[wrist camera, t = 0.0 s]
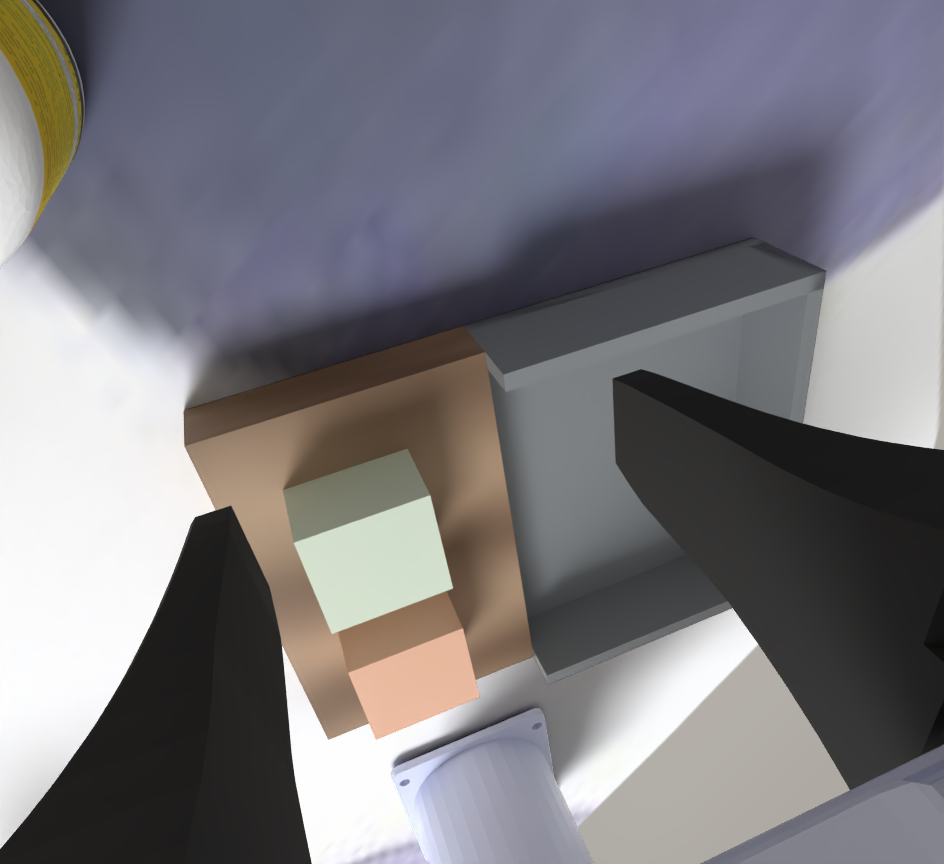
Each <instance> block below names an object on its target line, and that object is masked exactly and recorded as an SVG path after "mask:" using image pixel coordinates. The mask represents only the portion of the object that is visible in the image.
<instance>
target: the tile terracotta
mask: <svg viewBox="0 0 944 864" xmlns="http://www.w3.org/2000/svg"><path fill="white" fill-rule="evenodd" d="M338 634H339V638H340V642H341V646H342V650H343V654H344V658H345V662H346V666H347V670H348V674H349V676H350V679H351V681H352V683H353V686H354V688H355V691H356V693H357V695H358V698H359V700H360V702H361V705H362V707H363V710H364V712H365V714H366V717H367V719H368V722H369V724H370V726H371V729H372V731H373V734H374V736H375V738H376V740H377V739H379V738H381V737H384V736H386V735H389V734H391V733H394V732H396V731H398V730H401V729H403V728H406V727H408V726H411V725H413V724H415V723H418V722H420V721H423V720H425V719H428V718H430V717H432V716H435V715H437V714H440V713H442V712H445V711H447V710H449V709H452V708H454V707H457V706H459V705H462V704H464V703H466V702H469V701H471V700H474V699H476V698H479V697H480V696H479V692H478V688H477V684H476V680H475V676H474V672H473V668H472V663H471V659H470V655H469V651H468V647H467V643H466V639H465V635H464V631H463V627H462V625H461V623H460V621H459V618H458V616H457V614H456V611H455V609H454V607H453V605H452V602H451V600H450V598H449V595H448V593H447V591H445V592H442V593H440V594H437V595H434V596H432V597H429V598H426V599H424V600H421V601H418V602H416V603H413V604H411V605H408V606H405V607H403V608H400V609H397V610H395V611H392V612H389V613H387V614H384V615H381V616H379V617H376V618H373V619H371V620H368V621H365V622H363V623H360V624H358V625H355V626H352V627H350V628H347V629H344V630H342V631H339V632H338Z"/></svg>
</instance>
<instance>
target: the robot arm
mask: <svg viewBox="0 0 944 864" xmlns="http://www.w3.org/2000/svg"><path fill="white" fill-rule="evenodd" d="M612 383H613V409H614V434H615V460H616V464H617V466H618V468H619V469H620V471H621V472H622V474H623V475H624V477H625V479H626V480H627V482H628V483H629V485H630V486H631V488H632V489H633V491H634V492H635V494H636V495H637V497H638V498H639V499H640V501H641V502H642V504H643V505H644V506H645V507H646V508H647V510H648V511H649V512H650V513H651V514H652V515H653V516H654V518H655V519H656V520H657V521H658V522H659V523H660V524H661V526H662V527H663V528H664V529H665V530H666V531H667V532H668V534H669V535H670V536H671V537H672V538H673V539H674V540H675V541H676V542H677V544H678V545H679V546H680V547H681V548H682V549H683V550H684V551H685V553H686V554H687V555H688V556H689V557H690V558H691V559H692V560H693V561H694V563H695V564H696V565H697V566H698V567H699V568H700V569H701V570H702V572H703V573H704V574H705V575H706V576H707V577H708V578H709V579H710V580H711V582H712V583H713V584H714V585H715V586H716V588H717V589H718V590H719V591H720V592H721V594H722V595H723V596H724V597H725V599H726V600H727V601H728V602H729V604H730V605H731V606H732V608H733V609H734V611H735V612H736V613H737V615H738V616H739V618H740V619H741V620H742V622H743V623H744V625H745V626H746V627H747V629H748V630H749V632H750V633H751V634H752V636H753V637H754V639H755V640H756V641H757V643H758V644H759V646H760V647H761V649H762V650H763V652H764V653H765V655H766V656H767V658H768V659H769V660H770V662H771V663H772V665H773V666H774V668H775V669H776V671H777V672H778V674H779V675H780V677H781V678H782V680H783V681H784V683H785V684H786V686H787V687H788V689H789V690H790V692H791V693H792V695H793V696H794V698H795V700H796V701H797V703H798V705H799V706H800V708H801V709H802V711H803V713H804V714H805V716H806V717H807V719H808V720H809V722H810V724H811V725H812V727H813V728H814V730H815V732H816V733H817V735H818V736H819V738H820V739H821V741H822V743H823V745H824V746H825V748H826V750H827V752H828V753H829V755H830V757H831V758H832V760H833V761H834V763H835V765H836V767H837V768H838V770H839V772H840V774H841V775H842V777H843V779H844V780H845V782H846V783H847V785H848V787H849V789H850V791H848V792H846V793H844V794H842V795H840V796H838V797H835V798H833V799H831V800H829V801H827V802H826V803H823V804H821V805H819V806H817V807H815V808H813V809H811V810H809V811H807V812H805V813H803V814H801V815H799V816H797V817H795V818H793V819H791V820H789V821H787V822H784V823H782V824H780V825H778V826H776V827H774V828H772V829H770V830H768V831H766V832H764V833H762V834H760V835H758V836H756V837H754V838H752V839H750V840H748V841H746V842H744V843H742V844H740V845H738V846H736V847H733V848H731V849H729V850H727V851H725V852H723V853H721V854H719V855H717V856H715V857H713V858H711V859H709V860H707V861H705V862H703V863H701V864H944V450H939V449H931V448H923V447H916V446H910V445H903V444H897V443H890V442H884V441H878V440H873V439H868V438H862V437H857V436H853V435H848V434H844V433H840V432H835V431H831V430H826V429H822V428H818V427H814V426H810V425H806V424H803V423H799V422H796V421H792V420H789V419H786V418H782V417H779V416H776V415H772V414H769V413H766V412H763V411H760V410H757V409H753V408H750V407H747V406H745V405H742V404H739V403H736V402H733V401H730V400H727V399H725V398H722V397H719V396H716V395H714V394H711V393H708V392H705V391H703V390H700V389H697V388H695V387H692V386H689V385H687V384H684V383H681V382H678V381H676V380H673V379H670V378H667V377H665V376H662V375H659V374H656V373H653V372H650V371H646V370H643V369H640V370H637V371H634V372H631V373H628V374H625V375H622V376H619V377H616V378H613V379H612ZM391 777H392V781H393V783H394V785H395V788H396V790H397V793H398V795H399V797H400V800H401V802H402V804H403V807H404V809H405V812H406V814H407V816H408V819H409V821H410V823H411V826H412V828H413V831H414V833H415V835H416V838H417V840H418V843H419V845H420V847H421V850H422V852H423V854H424V857H425V859H426V860H427V861H429V864H595V863H594V861H593V859H592V857H591V855H590V852H589V851H588V848H587V846H586V844H585V842H584V840H583V838H582V835H581V834H580V831H579V829H578V827H577V825H576V823H575V821H574V818H573V816H572V814H571V812H570V810H569V808H568V806H567V804H566V801H565V799H564V797H563V795H562V793H561V791H560V789H559V787H558V784H557V782H556V780H555V778H554V772H553V766H552V759H551V753H550V747H549V740H548V734H547V728H546V721H545V716H544V714H543V712H542V710H541V709H539V708H534V709H531V710H528V711H526V712H524V713H521V714H519V715H517V716H514V717H512V718H509V719H507V720H505V721H502V722H500V723H498V724H495V725H493V726H490V727H488V728H486V729H483V730H481V731H479V732H476V733H474V734H471V735H469V736H467V737H464V738H462V739H460V740H457V741H455V742H452V743H450V744H448V745H445V746H443V747H441V748H438V749H436V750H433V751H431V752H429V753H426V754H424V755H422V756H419V757H417V758H414V759H412V760H410V761H407V762H405V763H403V764H400V765H398V766H396V767H395V768H394V769H393V770H392V772H391ZM0 864H312V863H311V858H310V853H309V849H308V844H307V839H306V834H305V829H304V824H303V819H302V814H301V808H300V803H299V798H298V793H297V788H296V783H295V776H294V769H293V761H292V753H291V742H290V731H289V719H288V708H287V697H286V686H285V675H284V664H283V653H282V643H281V636H280V631H279V626H278V622H277V617H276V612H275V608H274V604H273V599H272V595H271V591H270V587H269V584H268V582H267V580H266V578H265V576H264V574H263V572H262V570H261V567H260V565H259V563H258V561H257V559H256V557H255V555H254V553H253V550H252V548H251V546H250V544H249V542H248V540H247V538H246V536H245V533H244V531H243V529H242V527H241V525H240V523H239V521H238V519H237V516H236V514H235V512H234V510H233V508H232V506H228V507H225V508H222V509H219V510H216V511H213V512H210V513H207V514H204V515H201V516H198V517H195V519H194V520H193V522H192V524H191V526H190V529H189V532H188V535H187V537H186V540H185V543H184V546H183V548H182V551H181V554H180V557H179V559H178V562H177V564H176V567H175V569H174V572H173V575H172V577H171V580H170V582H169V584H168V587H167V589H166V591H165V594H164V596H163V598H162V601H161V603H160V605H159V608H158V610H157V612H156V615H155V617H154V619H153V621H152V623H151V625H150V627H149V629H148V631H147V633H146V635H145V637H144V639H143V641H142V643H141V645H140V647H139V649H138V651H137V653H136V655H135V657H134V659H133V661H132V663H131V665H130V667H129V669H128V671H127V672H126V674H125V676H124V678H123V680H122V681H121V683H120V685H119V687H118V688H117V690H116V692H115V693H114V695H113V697H112V699H111V700H110V702H109V703H108V705H107V707H106V708H105V710H104V712H103V713H102V715H101V716H100V718H99V720H98V721H97V723H96V724H95V726H94V727H93V729H92V730H91V732H90V733H89V735H88V736H87V738H86V739H85V740H84V742H83V743H82V745H81V746H80V747H79V749H78V750H77V752H76V753H75V754H74V756H73V757H72V759H71V760H70V761H69V763H68V764H67V766H66V767H65V768H64V770H63V771H62V773H61V774H60V775H59V777H58V778H57V780H56V781H55V782H54V784H53V785H52V786H51V788H50V789H49V790H48V792H47V793H46V794H45V795H44V797H43V798H42V799H41V800H40V802H39V803H38V804H37V805H36V807H35V808H34V809H33V810H32V812H31V813H30V814H29V815H28V817H27V818H26V819H25V820H24V822H23V823H22V824H21V825H20V826H19V828H18V829H17V830H16V831H15V832H14V834H13V835H12V836H11V837H10V838H9V839H8V841H7V842H6V843H5V844H4V845H3V847H2V848H1V849H0Z"/></svg>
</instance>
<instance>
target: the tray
mask: <svg viewBox="0 0 944 864" xmlns="http://www.w3.org/2000/svg"><path fill="white" fill-rule="evenodd" d="M825 276H826V271H825V270H823V269H821V268H819V267H817V266H814V265H812V264H810V263H808V262H806V261H804V260H802V259H799V258H797V257H795V256H793V255H791V254H789V253H786V252H784V251H782V250H780V249H778V248H776V247H774V246H771V245H769V244H767V243H765V242H763V241H761V240H759V239H756V238H751V239H748V240H744V241H741V242H738V243H735V244H731V245H728V246H725V247H721V248H718V249H715V250H712V251H708V252H705V253H702V254H698V255H695V256H692V257H688V258H685V259H682V260H679V261H675V262H672V263H669V264H665V265H662V266H659V267H656V268H652V269H649V270H646V271H642V272H639V273H636V274H632V275H629V276H626V277H623V278H619V279H616V280H613V281H609V282H606V283H603V284H600V285H596V286H593V287H590V288H586V289H583V290H580V291H576V292H573V293H570V294H567V295H563V296H560V297H557V298H553V299H550V300H547V301H544V302H540V303H537V304H534V305H530V306H527V307H524V308H521V309H517V310H514V311H511V312H507V313H504V314H501V315H497V316H494V317H491V318H488V319H484V320H481V321H478V322H474V323H471V324H468V325H465V326H464V327H465V328H466V329H467V331H468V332H469V333H470V334H471V335H472V337H473V338H474V339H475V340H476V342H477V343H478V344H479V345H480V347H481V348H482V349H483V350H484V352H485V355H486V361H487V368H488V374H489V380H490V386H491V393H492V399H493V405H494V412H495V418H496V424H497V430H498V437H499V443H500V449H501V455H502V462H503V468H504V474H505V481H506V487H507V493H508V499H509V506H510V512H511V518H512V524H513V531H514V537H515V543H516V550H517V556H518V562H519V568H520V575H521V581H522V587H523V593H524V600H525V606H526V612H527V619H528V625H529V631H530V637H531V644H532V650H533V656H534V658H535V660H536V662H537V664H538V666H539V668H540V670H541V672H542V674H543V675H544V677H545V679H546V681H547V683H548V684H551V683H553V682H556V681H558V680H560V679H563V678H565V677H568V676H570V675H572V674H575V673H577V672H580V671H582V670H584V669H587V668H589V667H592V666H594V665H596V664H599V663H601V662H604V661H606V660H608V659H611V658H613V657H616V656H618V655H620V654H623V653H625V652H628V651H630V650H633V649H635V648H637V647H640V646H642V645H645V644H647V643H649V642H652V641H654V640H657V639H659V638H661V637H664V636H666V635H669V634H671V633H673V632H676V631H678V630H681V629H683V628H685V627H688V626H690V625H693V624H695V623H697V622H700V621H702V620H705V619H707V618H709V617H712V616H714V615H717V614H719V613H721V612H724V611H726V610H729V609H731V608H732V606H731V605H730V604H729V602H728V601H727V600H726V599H725V597H724V596H723V595H722V594H721V592H720V591H719V590H718V589H717V588H716V586H715V585H714V584H713V583H712V582H711V580H710V579H709V578H708V577H707V576H706V575H705V574H704V573H703V572H702V570H701V569H700V568H699V567H698V566H697V565H696V564H695V563H694V561H693V560H692V559H691V558H690V557H689V556H688V555H687V554H686V553H685V551H684V550H683V549H682V548H681V547H680V546H679V545H678V544H677V542H676V541H675V540H674V539H673V538H672V537H671V536H670V535H669V534H668V532H667V531H666V530H665V529H664V528H663V527H662V526H661V524H660V523H659V522H658V521H657V520H656V519H655V518H654V516H653V515H652V514H651V513H650V512H649V511H648V510H647V508H646V507H645V506H644V505H643V504H642V502H641V501H640V499H639V498H638V497H637V495H636V494H635V492H634V491H633V489H632V488H631V486H630V485H629V483H628V482H627V480H626V479H625V477H624V475H623V474H622V472H621V471H620V469H619V468H618V466H617V464H616V460H615V434H614V409H613V383H612V379H613V378H616V377H619V376H622V375H625V374H628V373H631V372H634V371H637V370H640V369H643V370H646V371H650V372H653V373H656V374H659V375H662V376H665V377H667V378H670V379H673V380H676V381H678V382H681V383H684V384H687V385H689V386H692V387H695V388H697V389H700V390H703V391H705V392H708V393H711V394H714V395H716V396H719V397H722V398H725V399H727V400H730V401H733V402H736V403H739V404H742V405H745V406H747V407H750V408H753V409H757V410H760V411H763V412H766V413H769V414H772V415H776V416H779V417H782V418H786V419H789V420H792V421H796V422H799V423H803V418H804V412H805V405H806V399H807V392H808V386H809V379H810V373H811V366H812V360H813V353H814V347H815V340H816V334H817V327H818V321H819V315H820V308H821V302H822V295H823V289H824V282H825Z"/></svg>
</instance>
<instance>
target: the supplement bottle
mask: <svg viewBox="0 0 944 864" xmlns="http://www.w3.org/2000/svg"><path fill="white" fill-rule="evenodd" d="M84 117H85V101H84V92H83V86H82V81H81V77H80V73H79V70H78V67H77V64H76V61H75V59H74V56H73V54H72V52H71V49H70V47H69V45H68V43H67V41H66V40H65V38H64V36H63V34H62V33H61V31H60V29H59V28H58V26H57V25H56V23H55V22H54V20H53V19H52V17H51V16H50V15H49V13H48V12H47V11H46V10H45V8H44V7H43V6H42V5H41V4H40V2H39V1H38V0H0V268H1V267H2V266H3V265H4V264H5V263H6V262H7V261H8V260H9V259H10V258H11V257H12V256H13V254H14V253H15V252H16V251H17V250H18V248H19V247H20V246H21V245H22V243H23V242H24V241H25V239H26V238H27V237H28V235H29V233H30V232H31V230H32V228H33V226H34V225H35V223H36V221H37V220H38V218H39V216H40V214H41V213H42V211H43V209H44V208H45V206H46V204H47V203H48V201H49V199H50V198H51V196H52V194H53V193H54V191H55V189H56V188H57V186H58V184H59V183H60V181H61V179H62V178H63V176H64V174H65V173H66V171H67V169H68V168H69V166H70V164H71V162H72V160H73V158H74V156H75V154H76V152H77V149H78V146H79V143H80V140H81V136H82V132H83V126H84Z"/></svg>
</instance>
